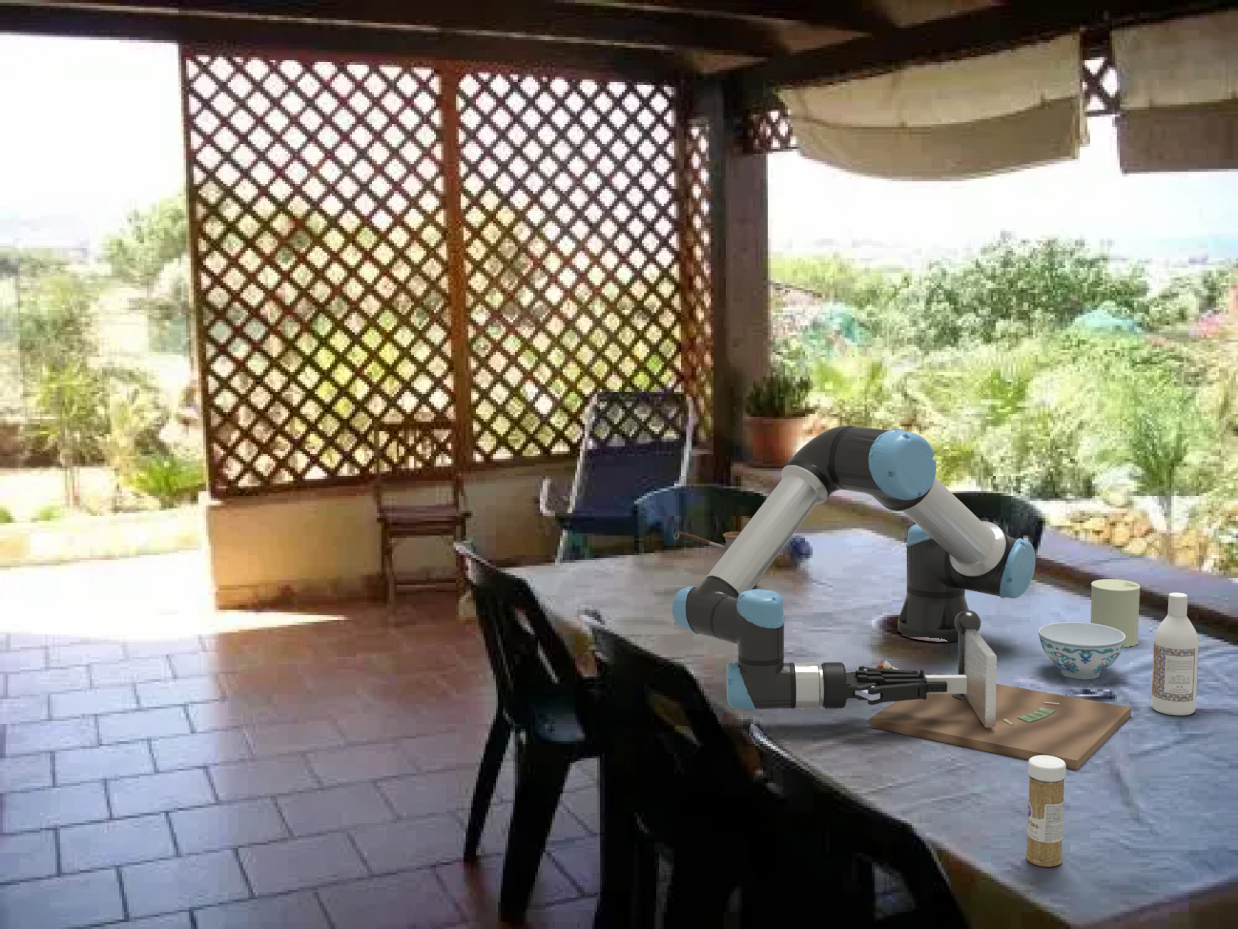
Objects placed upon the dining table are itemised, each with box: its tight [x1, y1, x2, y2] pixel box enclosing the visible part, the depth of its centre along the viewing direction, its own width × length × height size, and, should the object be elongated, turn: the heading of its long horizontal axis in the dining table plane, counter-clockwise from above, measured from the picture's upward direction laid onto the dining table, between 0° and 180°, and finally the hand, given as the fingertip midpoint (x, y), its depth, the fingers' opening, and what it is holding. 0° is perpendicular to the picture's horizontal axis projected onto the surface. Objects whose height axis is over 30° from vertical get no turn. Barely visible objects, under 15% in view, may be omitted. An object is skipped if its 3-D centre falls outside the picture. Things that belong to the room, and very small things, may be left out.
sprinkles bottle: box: [1025, 755, 1067, 868], centre depth 168 cm, size 5×5×13 cm
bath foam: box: [1150, 592, 1200, 716], centre depth 221 cm, size 7×7×20 cm
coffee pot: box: [673, 530, 763, 590], centre depth 309 cm, size 21×12×15 cm, turn 109°
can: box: [1090, 578, 1141, 648], centre depth 261 cm, size 9×9×12 cm
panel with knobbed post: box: [954, 609, 998, 727], centre depth 219 cm, size 20×4×14 cm, turn 177°
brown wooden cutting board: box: [869, 673, 1132, 771], centre depth 219 cm, size 34×28×2 cm
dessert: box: [875, 659, 901, 670], centre depth 240 cm, size 12×12×5 cm
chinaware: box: [1038, 621, 1125, 680], centre depth 242 cm, size 15×15×8 cm
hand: (965, 684), depth 215 cm, fingers closed
